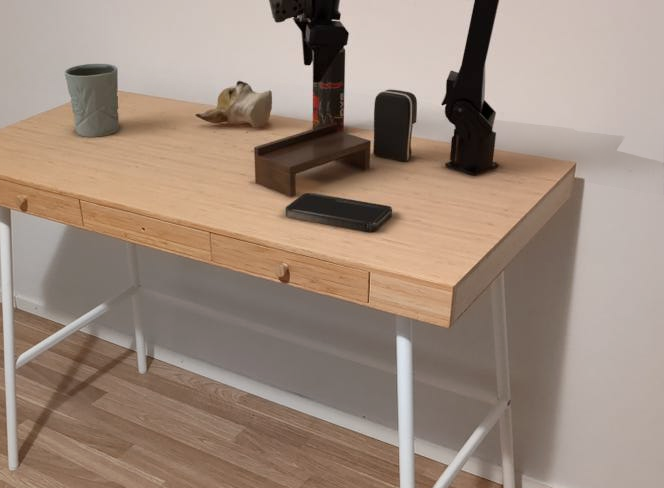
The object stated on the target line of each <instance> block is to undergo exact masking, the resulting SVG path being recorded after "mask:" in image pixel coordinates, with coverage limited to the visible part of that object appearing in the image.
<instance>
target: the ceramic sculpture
mask: <svg viewBox="0 0 664 488" xmlns="http://www.w3.org/2000/svg"><path fill="white" fill-rule="evenodd" d="M272 92H273V91H271V90H268V91H267V90H266V91H263V92H256V91H254V90H253V89H252V86H251V85H250V84H248V83H247V82H244V81H242V80H238V81H236V84H235V86H234V85H232V86H229V87H226V88H225V89H223V90H222V91H221V92H220V94H219V95H218V96H217V105H216V107H215V108H213V109H208V110H206V111H205V112H202V113H196V114H195V117H197V118H198V119H201V120H203V121H205V122H207V123H211V124H222V123H227V124H229V125H243V124H247V123H249V124H250V125H251V126H252V127H253V128H262V127H265V126H266V124H267V122H268V121H269V120H270V116H271V112H272V109H273V93H272Z"/></svg>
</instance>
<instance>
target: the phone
mask: <svg viewBox="0 0 664 488" xmlns="http://www.w3.org/2000/svg"><path fill="white" fill-rule="evenodd" d="M285 216H286V217H288V218H293V219H298V220H302V221H303V220H304V221H308V222H313V223H318V224H319V223H320V224H325V225H329V226H335V227H341V228H345V229H352V230H357V231H361V232H368V233H372V232H376V231H378V229H380V228H381V227H382V226H383V225H384V224H385V223H386V222H387V221H388V220H389V219H390V218H392V216H393V207H392V206H391V205H387V204H386V205H385V204H379V203H373V202H367V201H362V200H356V199H352V198H351V199H350V198H345V197H338V196H332V195H326V194H321V193H314V192H305V193H302V194H301V195H300V196H299V197H297V198H296V199H295V200H293V201H292V202H291V203H289V204H288V205H287V206H285Z"/></svg>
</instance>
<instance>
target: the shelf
mask: <svg viewBox="0 0 664 488" xmlns="http://www.w3.org/2000/svg"><path fill="white" fill-rule="evenodd" d="M337 130H338V124H337V123H331V124H328V125H324V126H321V127H318V128H315V129H313V128H312V129H309V130H306V131H302V132H299V133H296V134H292V135H289V136H286V137H283V138H280V139H276V140H273V141H270V142H267V143H264V144H260V145H256V146H254V147H253V154H254V177H255V178H254V182H255V184H257V185H260V186H263V187H265V188H267V189H269V190H271V191H274V192H277V193H279V194H282V195H284V196H287V197H289V198H293V197H295V196H296V195H297V182H296V181H297V175H296V174H299V173H303V172H305V171H308V170H312V169H314V168H317V167H320V166H322V165H326V164H328V163H331V162H338V163H341V164H344V165H347V166H349V167H353V168H355V169H356V168H357V169H358V170H362V171H365V172H366V171H368V170H370V169H371V144H372V143H371V140H369V139H367V138H363V137H360V136H356V135H353V134H351V133H347V132H344V131H343V132H341V131H337Z"/></svg>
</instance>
